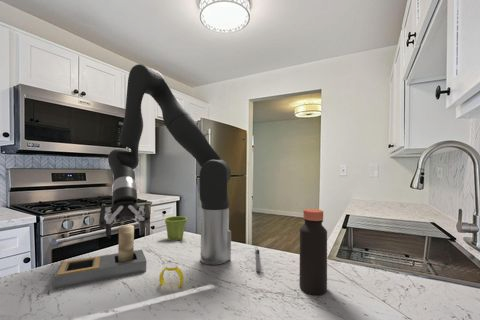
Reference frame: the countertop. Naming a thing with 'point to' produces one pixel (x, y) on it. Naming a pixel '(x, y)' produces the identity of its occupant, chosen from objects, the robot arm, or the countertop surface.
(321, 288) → the bottle
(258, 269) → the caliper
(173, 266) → the watch
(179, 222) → the plant pot
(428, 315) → the countertop surface
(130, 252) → the peg
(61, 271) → the base plate
